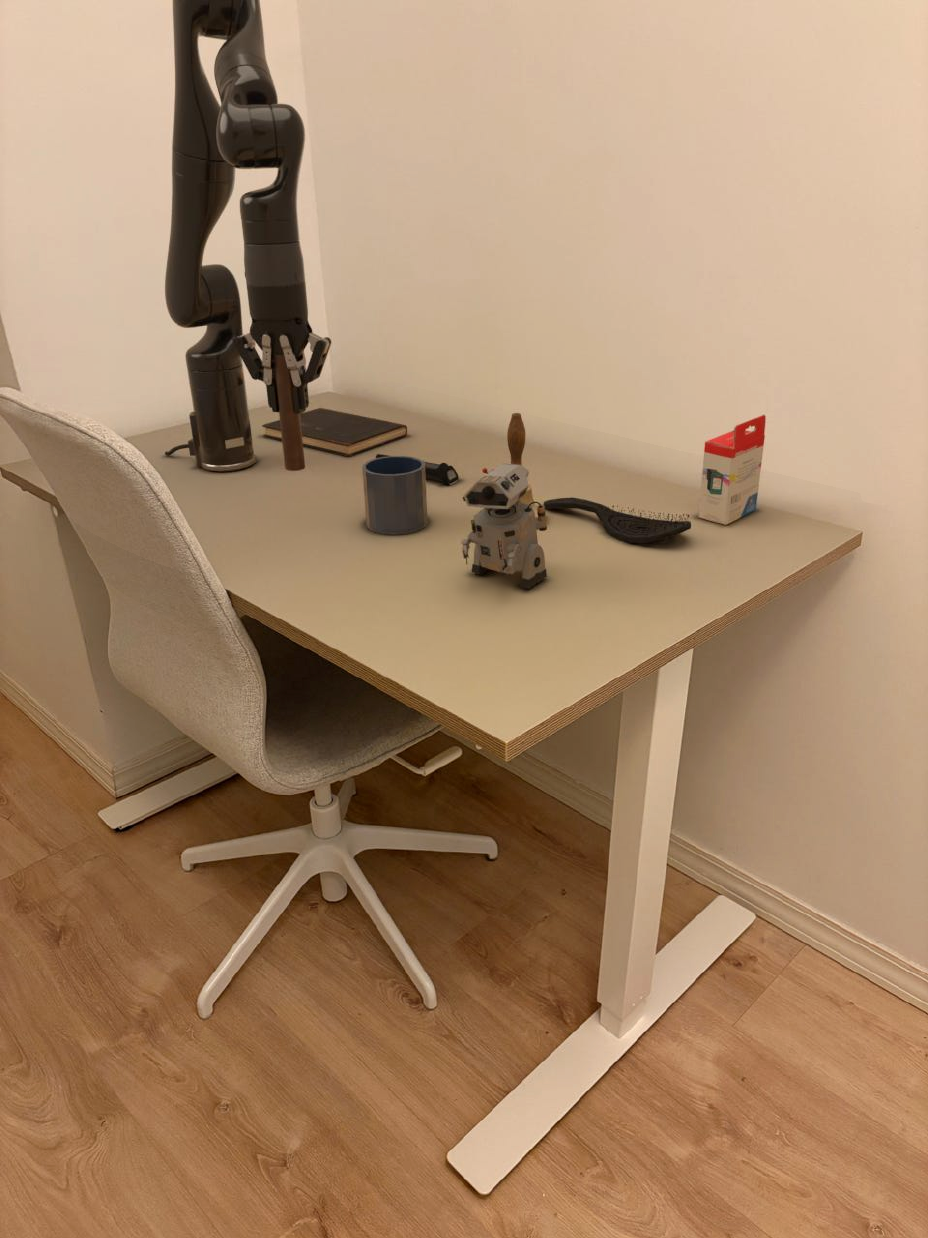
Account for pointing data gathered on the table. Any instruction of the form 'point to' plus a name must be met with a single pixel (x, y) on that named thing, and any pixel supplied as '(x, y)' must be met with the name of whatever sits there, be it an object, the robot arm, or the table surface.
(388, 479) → the cup
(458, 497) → the table surface
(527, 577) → the figurine
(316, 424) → the hardcover book
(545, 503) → the hairbrush
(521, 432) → the hand bell
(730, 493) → the ink box
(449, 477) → the electric trimmer
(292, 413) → the stick
